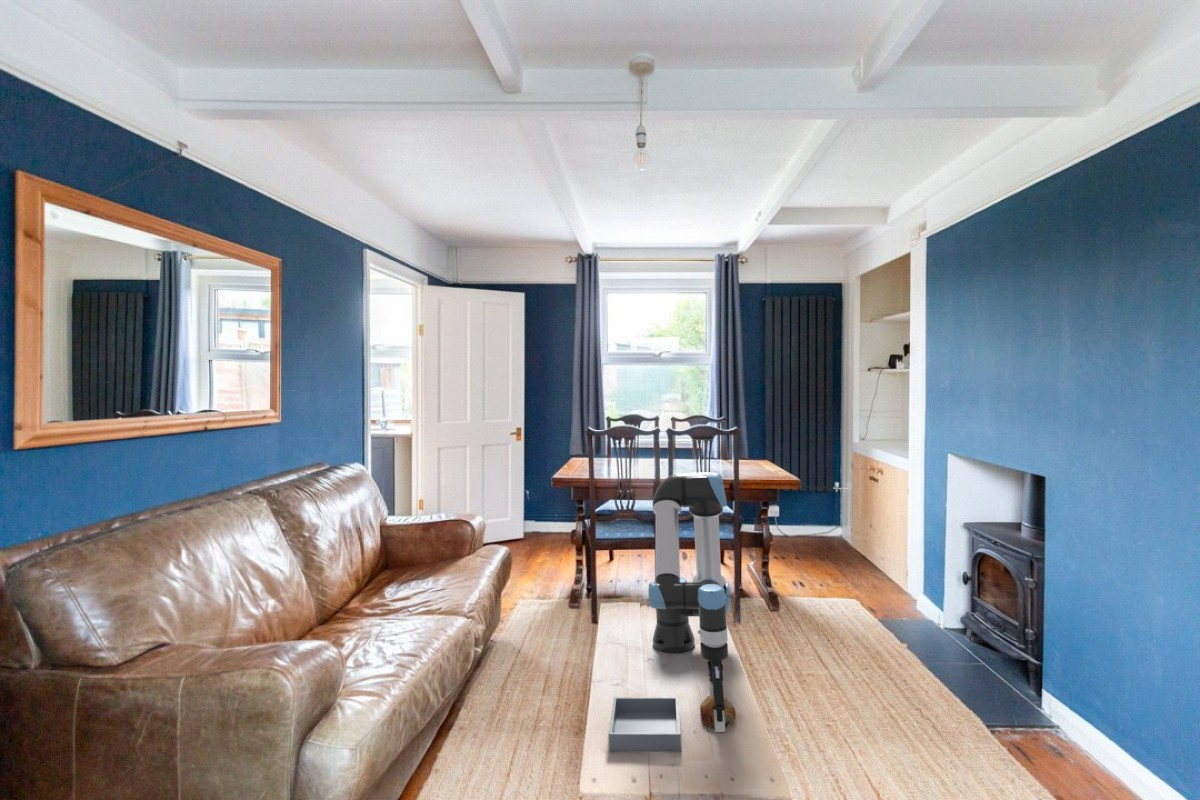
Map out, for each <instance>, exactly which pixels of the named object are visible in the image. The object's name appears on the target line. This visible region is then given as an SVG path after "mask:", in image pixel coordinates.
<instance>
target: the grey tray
mask: <svg viewBox="0 0 1200 800" xmlns="http://www.w3.org/2000/svg"><path fill="white" fill-rule="evenodd" d="M679 705H680V703H679V696H614V697H613V701H612V707H611V708H612V709H611V714H610V721H609V729H608V750H609V752H656V753H657V752H661V753H664V752H665V753H666V752H667V753H668V752H670V753H671V752H673V753H675V752H676V753H680V752H681V753H682V738H681V724H680V719H681V718H680V706H679Z"/></svg>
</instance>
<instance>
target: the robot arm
mask: <svg viewBox="0 0 1200 800" xmlns="http://www.w3.org/2000/svg"><path fill="white" fill-rule="evenodd" d="M725 491H726V490H725V486H724V481H723V476H722V474H721V473H720V472H710V471H707V472H688V473H687V472H686V473H685V472H683V473H681V472H680V473H679V472H678V473H674V474H671V475H668V477H666V478H664V480H663V481H662V482H661V483H660V484H659V486H658V487H657V489H656V490H655V493H654V496H653V499H652V512H653V514H654V515H655V563H654V564H655V565H654V567H655V570H654V571H655V581H653V582H649V584H648V593H647V594H648V605H649V606H650V608H652V609H655V611H656V612H655V613H656V614H655V615H656V625H655V629H654V633H653V636H652V646H653V645H654V646H653V647H654V649H656V648H657V649H656V650H658V649H659V650H658V651H660V650H662V651H661V652H663V651H665V652H664V653H668V652H671V653H670V654H678V653H677V652H680V653H684V652H688V651H690V650H692V649H693V648H694V647H695V645H696V644H695V643H696V642H695V636H694V633H693V630H692V628H691V625H690V620H689V617H699V630H697V634H698V635H699V638H700V639H699V640H700V644H699V645H700V655H701V658H703V659H705V660H706V661H707V663H706V664H707V668H708V677H709V679H708V681H709V696H712V695H713V696H714V706H712V709H714V722H715V728H714V732H715V733H725V732H726V727H725V716H724V710H725V707H724V697H725V696H724V685H723V681H724V676H723V675H724V674H723V671H724V666H723V663H722V662H723V661H724V660H726V659H727V658H728V656H729V647H728V645H729V644H728V640H729V639H728V626H727V615H728V614H729V611H730V606H731V605H730V603H731V586H730V583H729V582H727V581H726V578H725V577H724V576H723V575H722V568H721V567H722V566H721V565H722V564H721V562H722V561H721V543H720V542H721V541H720V537H721V536H720V520H719V519H720V515H721V514H722V513H723V512H724V508H725V507H727V506H728V503H727V502H728V501H727V496H726V492H725ZM682 508H688V512H689V513H690V514H691V515H692V516H693V527H694V528H693V529H694V531H693V532H694V546H695V548H694V549H695V550H694V551H695V569H696V575H694V576H693V578H692V581H691V582H689V581H687V579H686V578H684V577H681V564H680V562H681V561H680V530H679V529H680V528H679V514H680V513H681V511H682Z"/></svg>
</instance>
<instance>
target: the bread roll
mask: <svg viewBox="0 0 1200 800" xmlns="http://www.w3.org/2000/svg"><path fill="white" fill-rule="evenodd" d="M712 706H714V696H713V695H712V696H710V695H708V696H706V698H705V699H703V701H702V702H701V703H700V706H699V710H700V711H699V712H700V719H701V722H702V723H703V724H704V725H706V726H707V727H709V726H710V727H709V728H713V727H714V728H713V729H715V722H714V709H712ZM724 707H725V710H724V716H725V728H727V727H729V726H730V725H732V724H733V723H734V722H735V720H736V718H737V717H736V716H737V714H736V708H735V705H734V704H733V702H732V701H730V700H729V698H726V697H725V696H724ZM728 725H729V726H728Z"/></svg>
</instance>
